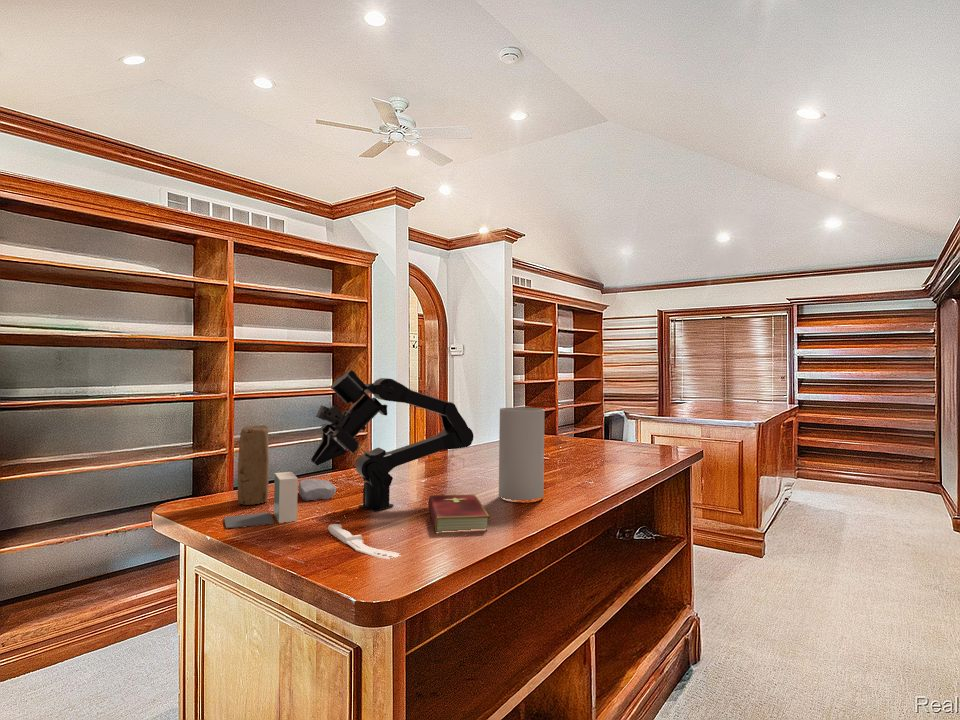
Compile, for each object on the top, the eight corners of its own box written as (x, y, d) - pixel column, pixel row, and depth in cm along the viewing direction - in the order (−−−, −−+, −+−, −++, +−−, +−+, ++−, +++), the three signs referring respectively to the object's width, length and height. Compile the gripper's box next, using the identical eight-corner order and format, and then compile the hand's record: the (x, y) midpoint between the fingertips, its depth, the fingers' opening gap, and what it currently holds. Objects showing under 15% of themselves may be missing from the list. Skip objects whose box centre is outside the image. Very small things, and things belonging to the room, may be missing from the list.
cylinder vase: (498, 493, 159) (499, 407, 159) (541, 494, 158) (542, 407, 159) (498, 503, 146) (499, 410, 147) (545, 504, 146) (546, 411, 146)
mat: (269, 513, 133) (269, 512, 133) (274, 523, 125) (274, 522, 125) (224, 518, 128) (224, 516, 128) (225, 529, 120) (226, 527, 120)
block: (267, 505, 141) (268, 428, 142) (235, 507, 139) (237, 428, 139) (269, 496, 151) (270, 424, 152) (240, 497, 149) (241, 424, 149)
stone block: (329, 496, 160) (295, 492, 156) (333, 480, 161) (299, 475, 156) (337, 507, 149) (300, 503, 145) (341, 490, 150) (304, 485, 146)
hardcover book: (435, 535, 119) (435, 516, 119) (428, 510, 140) (428, 494, 140) (489, 533, 121) (489, 514, 121) (474, 509, 142) (474, 493, 142)
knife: (428, 562, 100) (390, 570, 95) (427, 571, 100) (389, 580, 95) (359, 519, 124) (326, 524, 119) (359, 526, 124) (326, 531, 119)
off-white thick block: (291, 512, 135) (291, 471, 135) (296, 521, 127) (297, 478, 127) (273, 513, 133) (274, 472, 133) (278, 523, 125) (279, 479, 125)
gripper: (328, 392, 144) (284, 436, 139) (345, 395, 128) (296, 445, 123) (357, 421, 148) (315, 464, 143) (378, 428, 131) (330, 477, 126)
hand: (313, 462), depth 133 cm, fingers open, 4 cm apart
